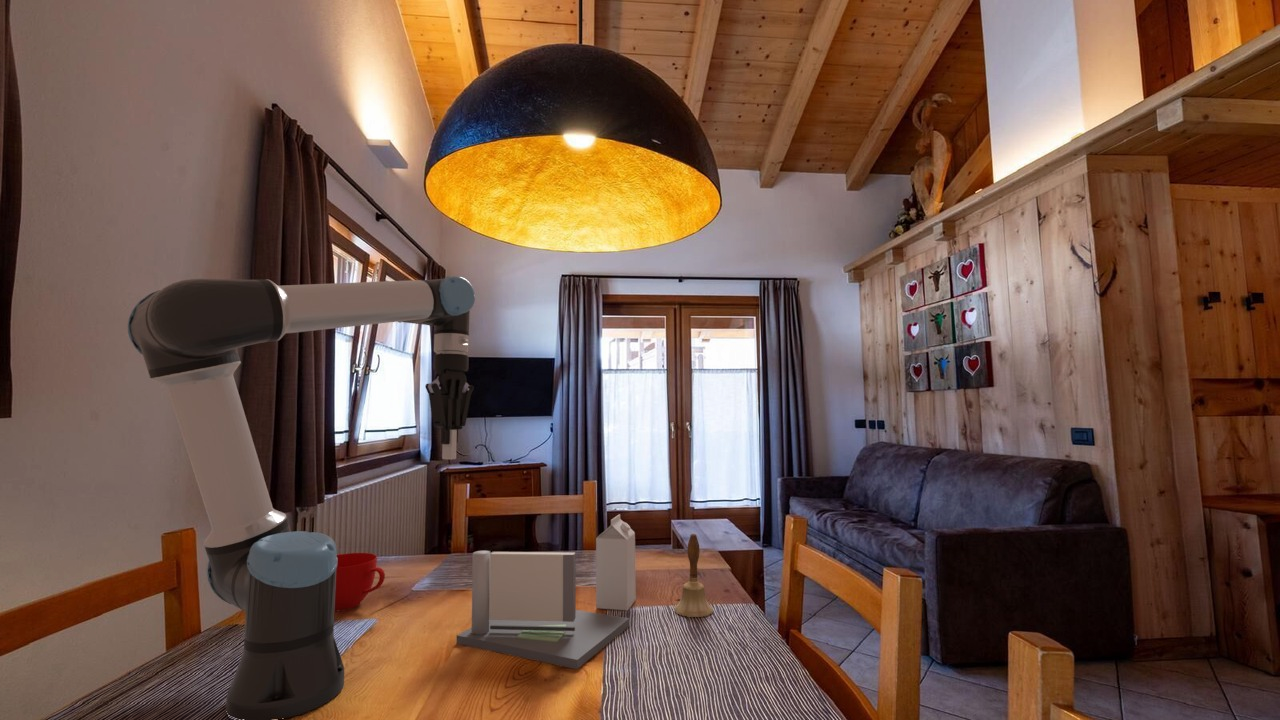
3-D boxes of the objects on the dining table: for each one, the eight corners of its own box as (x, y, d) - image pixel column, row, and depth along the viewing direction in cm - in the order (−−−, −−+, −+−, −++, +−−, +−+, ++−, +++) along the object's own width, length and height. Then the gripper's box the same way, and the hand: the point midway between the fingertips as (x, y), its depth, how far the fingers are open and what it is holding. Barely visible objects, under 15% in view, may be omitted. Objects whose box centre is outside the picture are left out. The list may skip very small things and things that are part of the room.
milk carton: (596, 609, 119) (595, 519, 121) (605, 598, 126) (605, 513, 128) (627, 611, 118) (626, 520, 120) (635, 600, 125) (635, 514, 126)
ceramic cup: (359, 621, 114) (361, 571, 115) (295, 613, 119) (297, 565, 120) (402, 600, 126) (404, 555, 127) (342, 594, 131) (344, 551, 132)
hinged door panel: (468, 634, 102) (470, 554, 104) (475, 627, 106) (476, 550, 107) (572, 636, 101) (572, 555, 102) (576, 629, 104) (576, 551, 105)
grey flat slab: (577, 669, 92) (577, 658, 92) (456, 643, 102) (456, 634, 102) (629, 626, 110) (629, 617, 110) (522, 608, 120) (522, 600, 121)
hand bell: (712, 604, 121) (711, 530, 123) (713, 618, 113) (712, 539, 115) (674, 603, 122) (673, 530, 124) (673, 617, 114) (672, 538, 116)
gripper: (442, 350, 118) (440, 462, 116) (483, 355, 130) (482, 457, 128) (416, 352, 121) (413, 461, 119) (458, 357, 133) (457, 456, 131)
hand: (449, 458), depth 123 cm, fingers closed
